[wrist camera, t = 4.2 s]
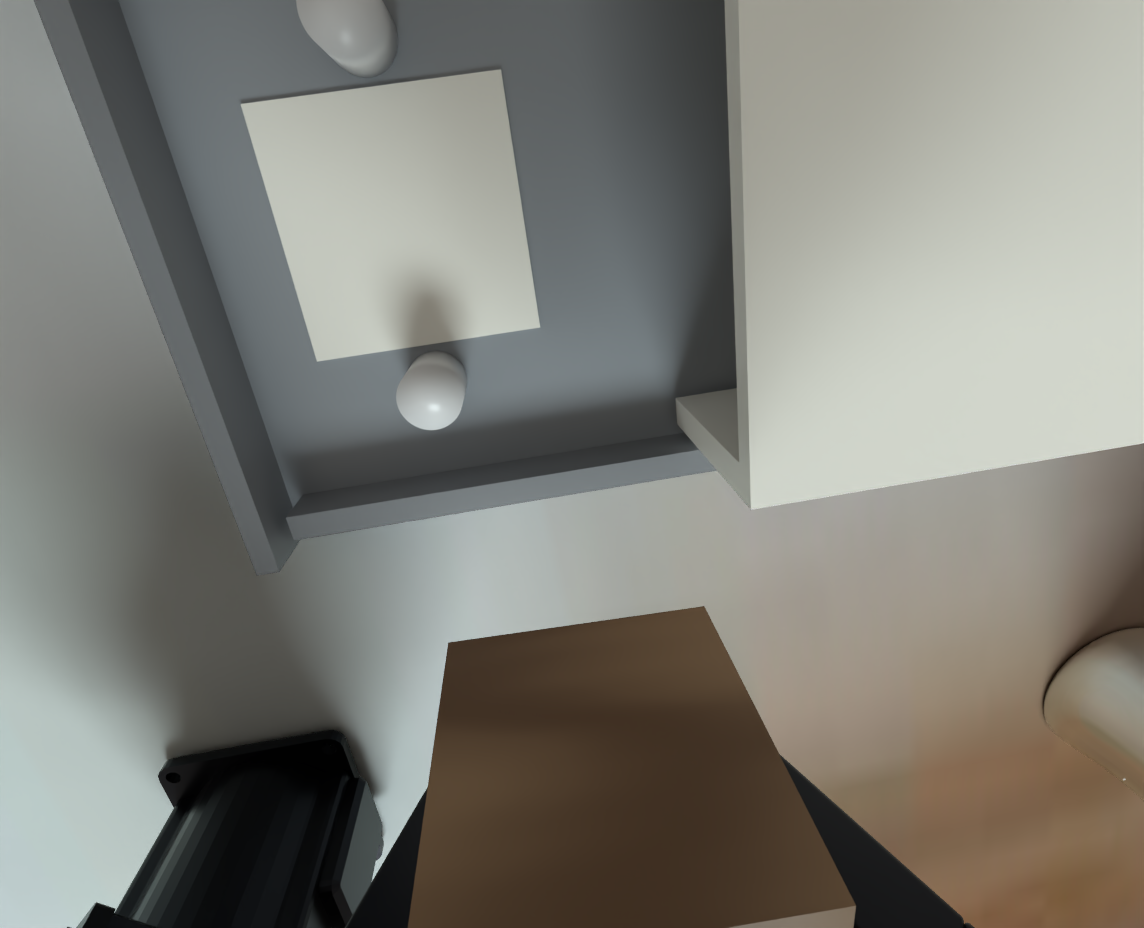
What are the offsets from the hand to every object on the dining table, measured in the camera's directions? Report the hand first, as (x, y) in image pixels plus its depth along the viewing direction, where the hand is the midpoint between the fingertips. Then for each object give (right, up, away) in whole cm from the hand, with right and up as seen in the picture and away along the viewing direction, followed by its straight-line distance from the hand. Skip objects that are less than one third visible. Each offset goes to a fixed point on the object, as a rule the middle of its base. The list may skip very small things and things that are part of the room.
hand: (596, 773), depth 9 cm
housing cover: (+6, +12, +6) cm, 15 cm away
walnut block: (0, 0, +1) cm, 1 cm away
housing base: (+1, +12, +7) cm, 14 cm away
